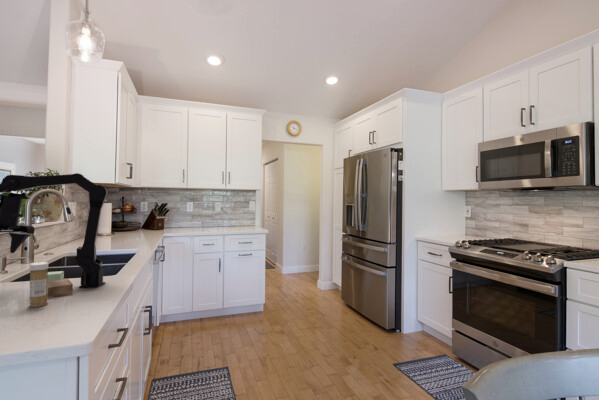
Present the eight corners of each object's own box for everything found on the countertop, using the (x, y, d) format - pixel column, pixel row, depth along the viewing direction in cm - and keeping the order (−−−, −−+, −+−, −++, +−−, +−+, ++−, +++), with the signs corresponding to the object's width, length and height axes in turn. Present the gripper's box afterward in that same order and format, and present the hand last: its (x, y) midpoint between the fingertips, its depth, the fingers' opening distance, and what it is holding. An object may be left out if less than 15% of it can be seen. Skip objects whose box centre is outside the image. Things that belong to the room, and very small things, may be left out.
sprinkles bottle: (49, 302, 101) (50, 261, 101) (45, 306, 97) (46, 263, 97) (31, 304, 99) (32, 262, 99) (26, 308, 95) (27, 265, 95)
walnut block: (67, 289, 117) (68, 278, 117) (72, 295, 110) (72, 284, 110) (33, 294, 110) (33, 283, 110) (35, 301, 103) (35, 289, 103)
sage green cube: (63, 283, 124) (63, 271, 124) (59, 286, 119) (60, 273, 119) (48, 284, 122) (48, 272, 122) (43, 288, 117) (44, 274, 117)
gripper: (9, 208, 118) (1, 248, 117) (-42, 205, 99) (-53, 254, 98) (39, 212, 118) (31, 252, 117) (-6, 210, 100) (-16, 258, 99)
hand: (0, 254), depth 108 cm, fingers open, 9 cm apart
